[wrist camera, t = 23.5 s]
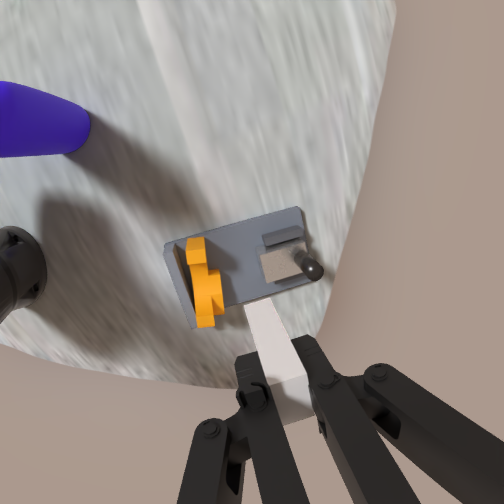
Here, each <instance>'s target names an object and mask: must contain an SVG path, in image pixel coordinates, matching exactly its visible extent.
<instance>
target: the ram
mask: <svg viewBox="0 0 504 504" xmlns="http://www.w3.org/2000/svg"><path fill="white" fill-rule="evenodd" d="M255 250H256V254H257V257H258V261H259V265H260V269H261V273H262V275H263V277H264V279H265V281H266V283H270V282H273V281H276V280H280V279H283V278H286V277H289V276H293V275H296V274H299V273H302V272H303V273H304V274H305V275H306V276H307V278H308V279H309V280H311V281H318V280H319V279H321V278H322V276H323V274H324V269H323V267H322V266H321V265H320V264H319V263H318V262H317V261H316V260H314V259H313V258H312V257H311V256H310V255H309V254H308V253H307V250H306V245H305V242H304V241H303V240H302V239H301V238H299V237H297V238H293V239H290V240H286V241H283V242H280V243H276V244H273V245H269V246H266V245H262V246H258V247H255Z"/></svg>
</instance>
